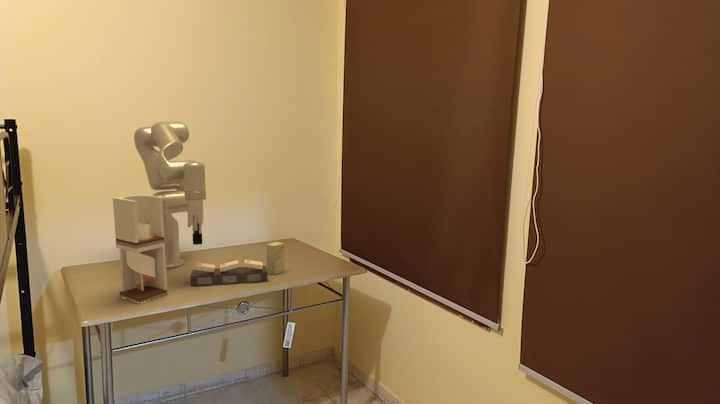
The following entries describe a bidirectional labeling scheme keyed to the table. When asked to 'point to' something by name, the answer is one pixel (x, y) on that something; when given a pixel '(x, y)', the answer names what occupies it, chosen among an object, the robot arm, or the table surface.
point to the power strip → (228, 276)
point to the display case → (141, 246)
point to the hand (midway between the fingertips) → (197, 243)
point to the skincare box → (275, 258)
